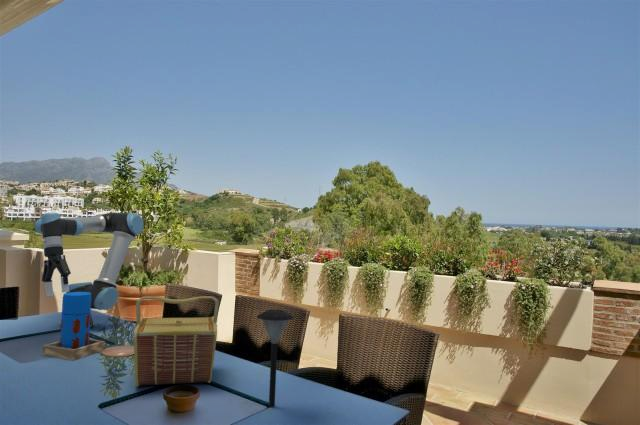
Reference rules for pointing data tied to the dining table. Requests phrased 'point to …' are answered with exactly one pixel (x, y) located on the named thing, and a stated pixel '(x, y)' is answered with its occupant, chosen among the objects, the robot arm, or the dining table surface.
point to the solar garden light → (274, 341)
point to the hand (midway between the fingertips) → (57, 294)
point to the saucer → (118, 351)
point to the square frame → (73, 350)
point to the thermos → (75, 320)
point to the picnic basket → (174, 347)
